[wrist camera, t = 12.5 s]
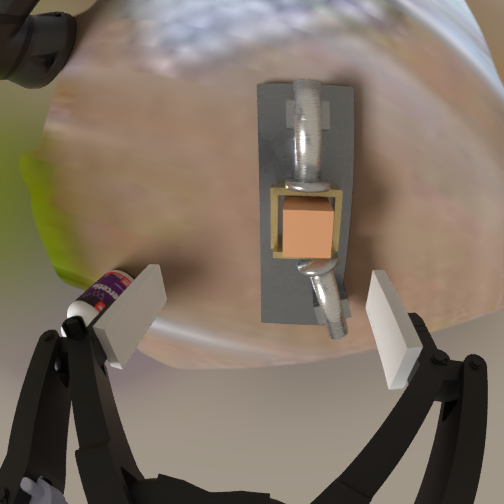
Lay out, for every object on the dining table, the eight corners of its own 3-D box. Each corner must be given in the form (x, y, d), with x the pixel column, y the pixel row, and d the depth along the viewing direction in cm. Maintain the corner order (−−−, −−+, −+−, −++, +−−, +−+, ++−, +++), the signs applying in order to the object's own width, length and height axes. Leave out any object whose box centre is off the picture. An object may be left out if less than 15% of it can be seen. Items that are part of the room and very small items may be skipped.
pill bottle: (150, 285, 42) (102, 342, 29) (137, 315, 45) (95, 370, 32) (111, 258, 41) (55, 305, 28) (101, 290, 45) (54, 338, 32)
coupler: (284, 236, 34) (282, 256, 29) (285, 196, 32) (282, 209, 27) (325, 237, 33) (330, 258, 28) (327, 197, 31) (334, 211, 26)
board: (258, 85, 28) (253, 78, 24) (351, 88, 27) (359, 82, 23) (262, 317, 41) (258, 335, 37) (335, 320, 39) (337, 338, 36)
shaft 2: (297, 253, 35) (297, 275, 30) (333, 242, 33) (340, 263, 28) (320, 321, 38) (321, 348, 33) (351, 313, 37) (358, 339, 32)
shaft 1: (327, 183, 31) (333, 193, 26) (285, 182, 31) (283, 192, 26) (327, 88, 26) (333, 79, 21) (284, 87, 27) (282, 77, 22)
